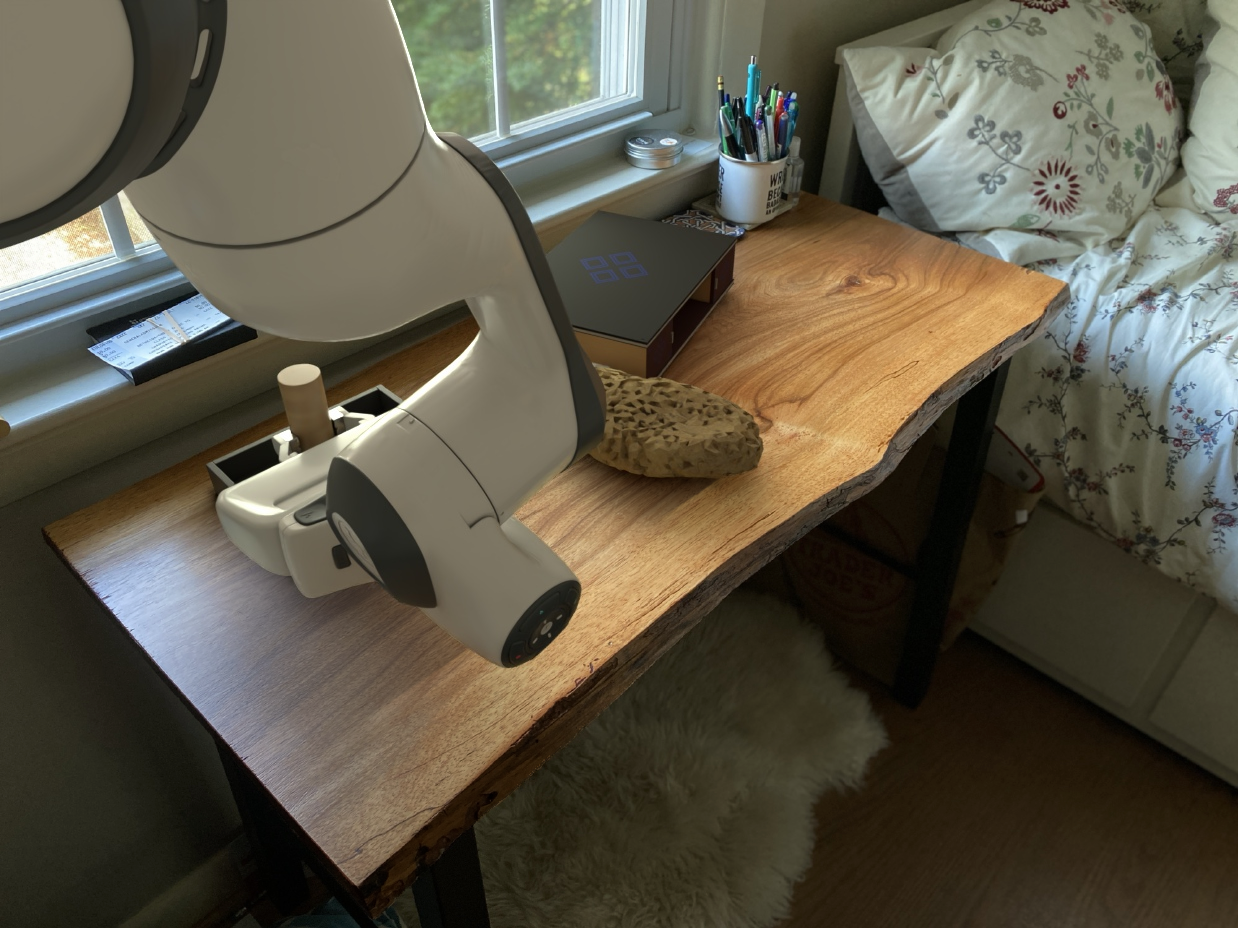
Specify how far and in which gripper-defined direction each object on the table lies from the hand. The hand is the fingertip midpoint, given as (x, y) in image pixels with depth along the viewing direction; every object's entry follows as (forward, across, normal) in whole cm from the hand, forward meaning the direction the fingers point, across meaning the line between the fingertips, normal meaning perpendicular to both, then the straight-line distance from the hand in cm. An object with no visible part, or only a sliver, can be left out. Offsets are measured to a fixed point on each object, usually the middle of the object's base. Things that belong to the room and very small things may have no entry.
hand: (306, 428), depth 75 cm
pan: (0, -2, +7) cm, 7 cm away
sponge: (-15, -24, +7) cm, 29 cm away
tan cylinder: (-1, 0, +6) cm, 7 cm away
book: (+3, -38, +7) cm, 39 cm away
